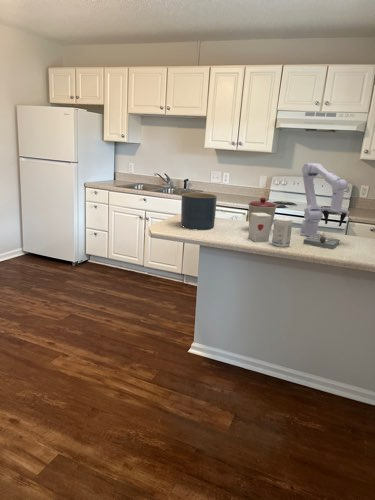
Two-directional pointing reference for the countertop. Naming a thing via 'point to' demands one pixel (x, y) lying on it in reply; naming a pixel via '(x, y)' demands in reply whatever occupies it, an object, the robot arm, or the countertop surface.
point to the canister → (262, 208)
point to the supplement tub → (282, 231)
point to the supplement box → (259, 227)
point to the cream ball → (321, 234)
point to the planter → (198, 210)
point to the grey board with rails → (316, 241)
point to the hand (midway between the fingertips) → (333, 225)
